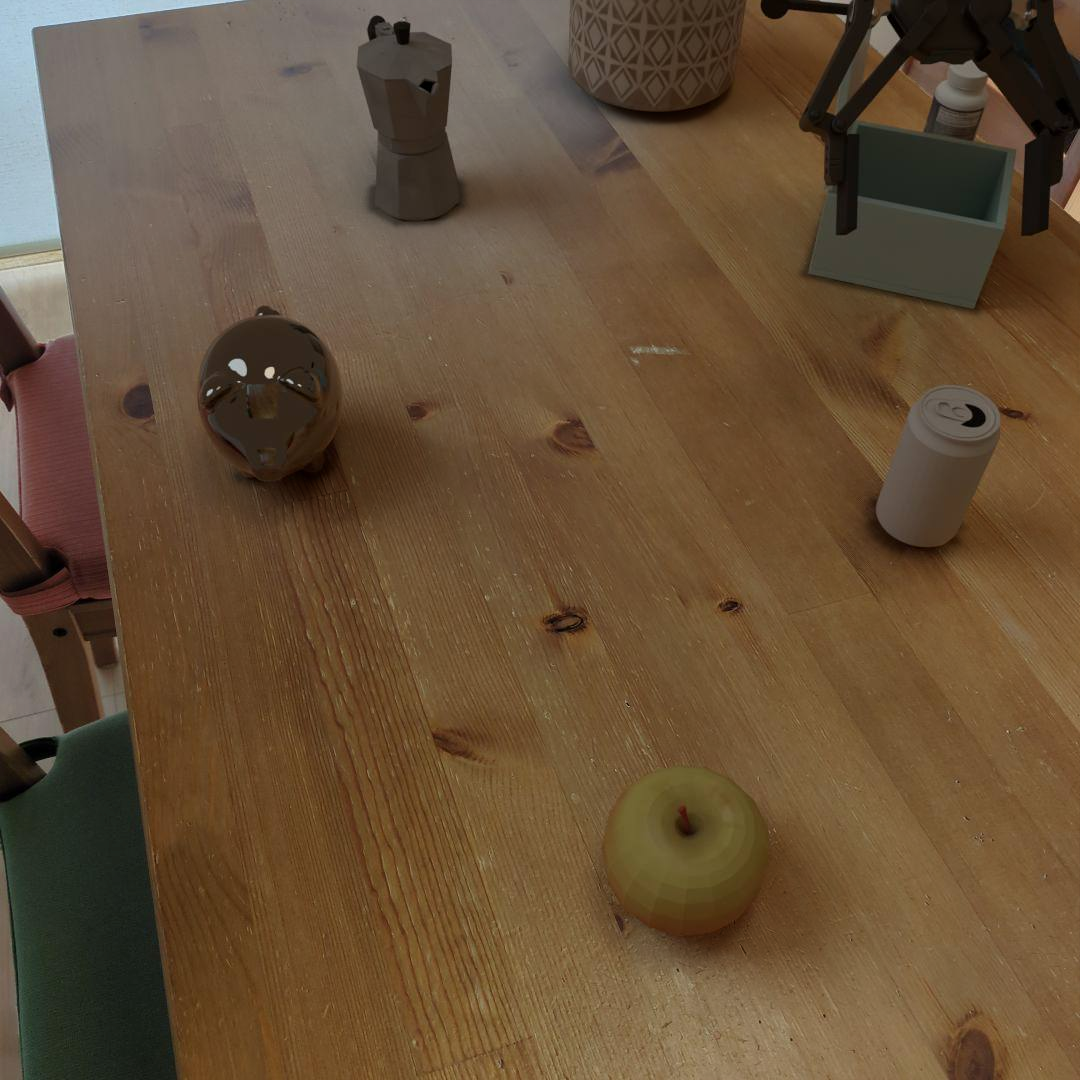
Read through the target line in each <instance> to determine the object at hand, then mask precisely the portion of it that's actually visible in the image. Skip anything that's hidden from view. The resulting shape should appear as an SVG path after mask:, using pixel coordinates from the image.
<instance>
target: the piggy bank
mask: <svg viewBox="0 0 1080 1080" xmlns="http://www.w3.org/2000/svg"><path fill="white" fill-rule="evenodd" d="M195 390H196V392H195V393H196V395H195V396H196V406H197V412H198V417H199V421H200V423H201V426H202V429H203V431H204V433H205V435H206V437H207V439H208V441H209V442H210V444H211V445H212V447H213V448H214V450H216V452H217V453H218V454H219V455H220V456H221V457H222V458H223V459H224V460H226V461H227V462H228V463H229V464H231V465H233V466H234V467H236V468H238V469H239V472H240V473H241V474H242V475H243V476H244V477H246V478H249V479H250V478H251V479H252V478H256V479H257V480H259V481H262V482H276V481H280V480H282V479H283V478H285V477H286V476H288V475H291V474H294V473H296V472H298V471H300V470H303V471H304V472H306V473H312V474H313V473H317V472H319V471H320V470H321V469H323V467H324V465H325V456H324V451H325V450H326V449H327V447H328V446H329V445H330V443H331V442H332V440H333V439H334V437H335V434H336V432H337V430H338V427H339V424H340V421H341V417H342V412H343V406H344V386H343V379H342V374H341V371H340V367H339V364H338V362H337V360H336V358H335V355H334V354H333V352H332V350H331V348H330V347H329V345H328V344H327V343H326V341H324V339H323V338H322V337H321V336H320V335H319V334H318V333H317V332H316V331H314V330H313V329H312V328H311V327H309V326H308V325H306V324H304V323H302V322H301V321H298V320H296V319H294V318H291V317H288V316H284V315H282V314H281V313H280V312H279V311H278V310H276V309H274V308H273V307H272V306H269V305H263V304H262V305H260V306H258V308H256V310H255V312H254V315H252V316H248V317H246V318H242V319H240V320H238V321H236V322H234V323H232V324H230V325H229V326H227V327H226V328H225V329H224V330H222V331H220V333H219V334H218V335H217V336H216V337H215V338H214V339H213V340H212V342H211V343H210V345H209V346H208V347H207V349H206V351H205V353H204V355H203V357H202V359H201V362H200V365H199V369H198V372H197V379H196V389H195Z"/></svg>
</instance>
